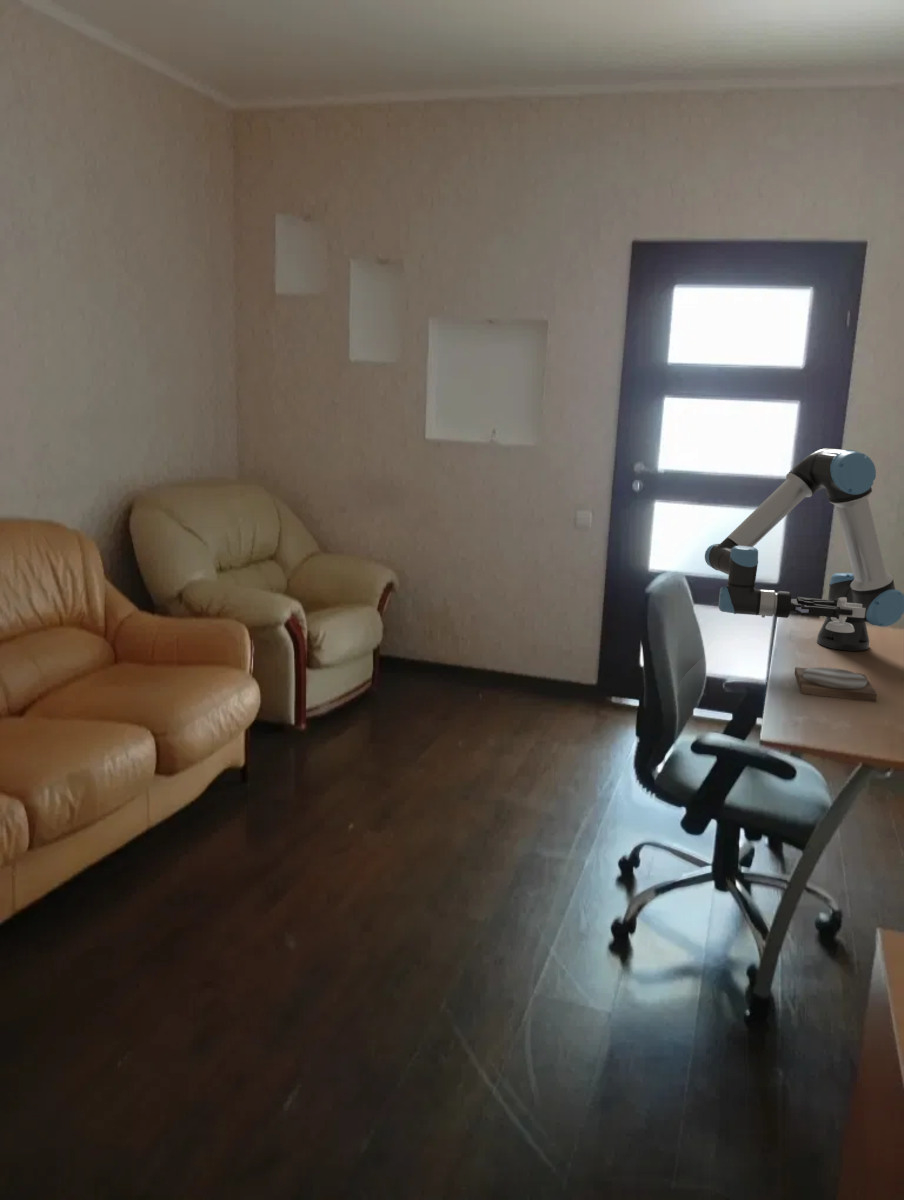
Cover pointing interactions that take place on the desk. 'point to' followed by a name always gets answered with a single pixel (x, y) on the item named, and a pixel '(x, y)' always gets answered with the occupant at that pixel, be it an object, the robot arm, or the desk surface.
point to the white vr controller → (840, 621)
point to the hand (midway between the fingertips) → (863, 610)
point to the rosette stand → (834, 683)
